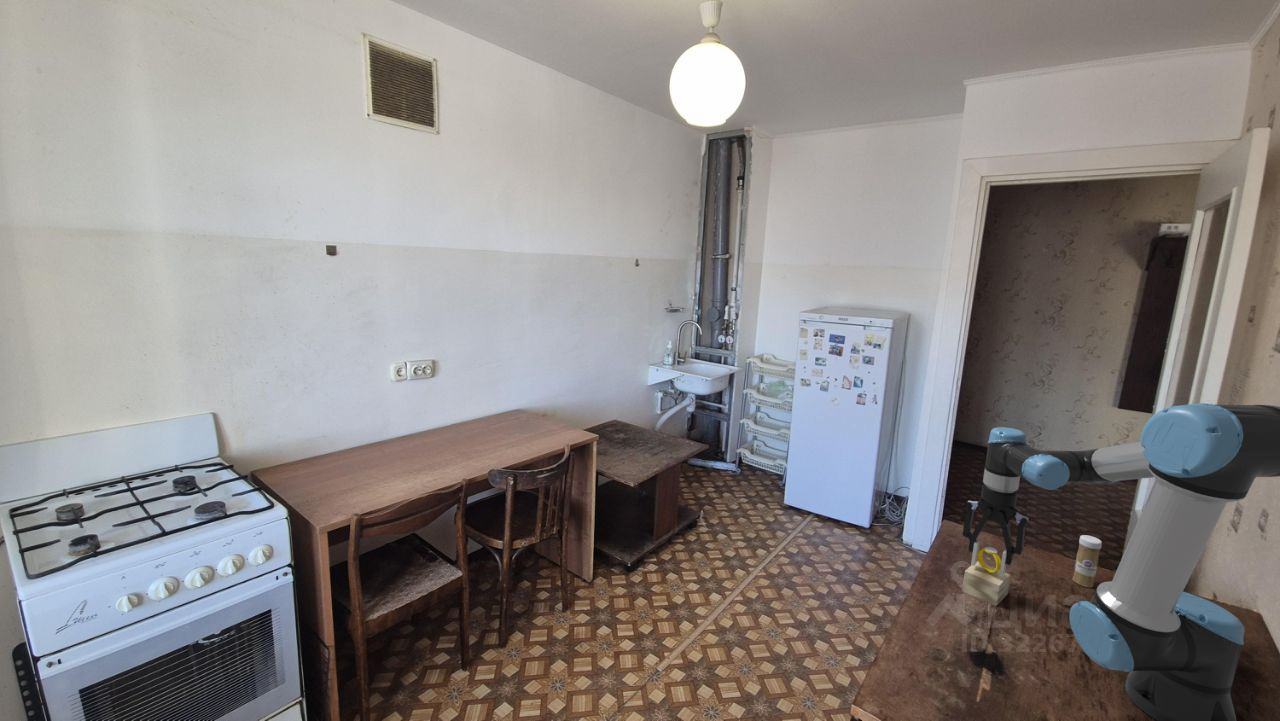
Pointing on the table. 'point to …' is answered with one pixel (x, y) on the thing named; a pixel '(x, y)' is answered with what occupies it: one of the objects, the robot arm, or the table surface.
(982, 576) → the maple block
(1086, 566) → the sprinkles bottle
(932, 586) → the table surface
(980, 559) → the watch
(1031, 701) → the table surface
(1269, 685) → the table surface
